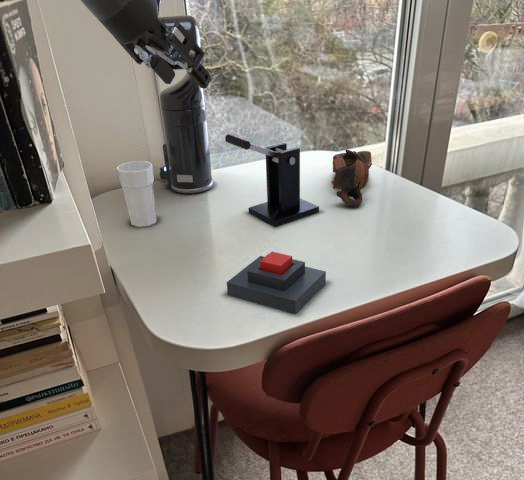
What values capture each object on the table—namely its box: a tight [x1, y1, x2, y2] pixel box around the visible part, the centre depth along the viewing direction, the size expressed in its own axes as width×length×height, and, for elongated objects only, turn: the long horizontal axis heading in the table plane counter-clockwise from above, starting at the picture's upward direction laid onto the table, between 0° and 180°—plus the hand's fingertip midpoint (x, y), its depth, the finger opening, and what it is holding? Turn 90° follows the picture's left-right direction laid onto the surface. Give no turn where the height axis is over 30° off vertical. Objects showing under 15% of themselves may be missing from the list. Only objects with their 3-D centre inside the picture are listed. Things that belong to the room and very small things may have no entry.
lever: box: [224, 133, 283, 163], centre depth 101 cm, size 13×6×2 cm, turn 124°
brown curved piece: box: [332, 150, 373, 173], centre depth 121 cm, size 15×3×8 cm
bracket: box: [248, 142, 320, 228], centre depth 107 cm, size 11×9×13 cm
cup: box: [116, 160, 157, 228], centre depth 107 cm, size 7×7×11 cm
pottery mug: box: [331, 148, 370, 209], centre depth 112 cm, size 12×10×8 cm
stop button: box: [260, 251, 293, 275], centre depth 84 cm, size 4×4×2 cm
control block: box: [226, 254, 327, 314], centre depth 85 cm, size 12×10×4 cm
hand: (188, 81), depth 85 cm, fingers open, 8 cm apart
